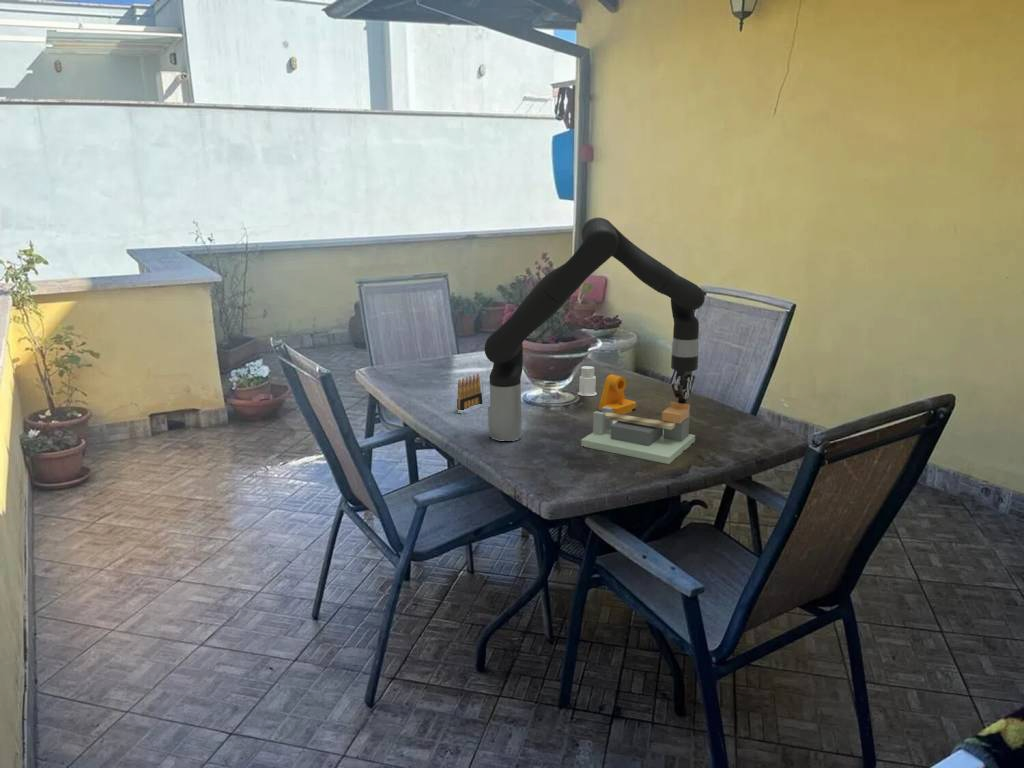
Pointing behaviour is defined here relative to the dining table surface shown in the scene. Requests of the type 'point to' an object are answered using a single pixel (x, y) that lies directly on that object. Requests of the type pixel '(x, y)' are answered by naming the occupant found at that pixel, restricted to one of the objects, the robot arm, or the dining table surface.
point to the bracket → (616, 395)
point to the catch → (676, 412)
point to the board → (638, 450)
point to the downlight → (587, 381)
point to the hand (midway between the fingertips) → (682, 410)
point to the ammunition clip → (469, 393)
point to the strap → (639, 420)
